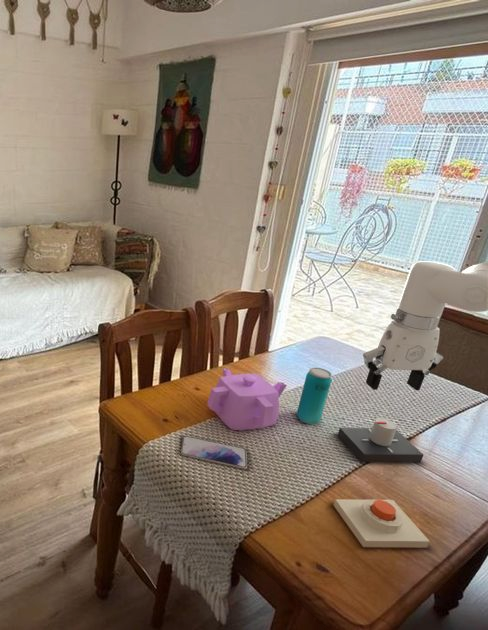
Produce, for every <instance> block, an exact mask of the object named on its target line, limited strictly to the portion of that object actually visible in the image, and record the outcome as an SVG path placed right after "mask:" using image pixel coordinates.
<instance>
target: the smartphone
mask: <svg viewBox="0 0 488 630" xmlns="http://www.w3.org/2000/svg"><path fill="white" fill-rule="evenodd" d="M180 454H181V456H185V457H188V458H193V459H198V460H202V461H207V462H211V463H214V464H215V463H216V464H219V465H220V464H221V465H223V466H228V467H233V468H238V469H243V470H246V469H248V455H247V450H246V449H245V448H243V447H239V446H234V445H229V444H225V443H220V442H215V441H210V440H206V439H200V438H196V437H191V436H187V435H186V436H183V437H182V442H181V449H180Z"/></svg>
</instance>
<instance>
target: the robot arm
mask: <svg viewBox="0 0 488 630" xmlns="http://www.w3.org/2000/svg"><path fill="white" fill-rule="evenodd" d="M446 305H449V306H453V307H455V308H458V309H461V310H465V311H468V312H474V313H481V312H487V311H488V260H487V261H483V262H481V263H477V264H473V265H472V266H469V267H467V268H466V269H464V270H462V271H457V270H456V268H455V267H453V266H452V265H449V264H447V263H443V262H438V261H432V260H421V261H417V262H415V263H413V264H412V266H411V267H410V269H409V272H408V276H407V279H406V281H405V284H404V288H403V290H402V293H401V296H400V300H399V302H398V305H397V308H396V310H395V311H396V312H395V313H391V315H390V319H391V321H390V322H389V324H388V325H387V327H386V329H385V330H384V332H383V334H382V336H381V339H380V341H379V343H378V345H377V347H376V348H374V349H371V350H369V351H365V352H364V353H362V357H363V361H364V364H365V366H366V367H367V369H369V371H368V374H367V376H366V380H365V384H366V385H367V386H368V387H370V388H371V389H372V390H374V391H377V390H378V388H379V386H380V383H381V381H382V378H383V377H382V376H383V375H382V373H383V372H384V371H385V370H387V369H389V370H392V371H393V370H394V371H410V373H409V376H408V379H407V381H406V384H407V385H408V386H409V387H411V388H412V389H414V391H420V390H421V387H422V385H423V382H424V380H425V378H426V376H428V375H430V373H431V371H432V370H434V369H435V368H437V366H438V365H439V363H440V362H441V361H442V360H443V359H444V356H443V355H442V354H440V353H438V352H437V350H438V346H439V342H440V331H441V330H440V327H438V326H439V323H440V320H441V317H442V315H443V312H444V309H445V308H446Z"/></svg>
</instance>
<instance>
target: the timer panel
mask: <svg viewBox="0 0 488 630" xmlns="http://www.w3.org/2000/svg"><path fill="white" fill-rule="evenodd" d="M372 428H373V427H339V428H338V432H337V437H338V438H339V439H340V440H341V442H342V443H344V445H345V446H346V447H347V448H348V449H349V450H350V451H351V452H352V454H353V455H354V456H355V457H356V458H357V459H358V461H360V462H361V463H392V464H394V463H398V464H399V463H400V464H401V463H403V464H405V463H407V464H421V462H422V460H423V457H424V455H425V454H423V452H421V451H420V450H419V449H418V448H417V447H416V446H415V445H414V444H413V443H412V442H410V441H409V440H408V438H406V437H405V436H404V435H402V433H400V432H399V431H398V430H397V429H396V431H395V434H394V437H393V440H392V442H391V445H389V446H382V445H378V444H376V443H374V442H373V441H372V440H371V439H370V434H371V431H372Z"/></svg>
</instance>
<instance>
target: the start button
mask: <svg viewBox="0 0 488 630" xmlns="http://www.w3.org/2000/svg"><path fill="white" fill-rule="evenodd" d="M374 500H375V501H374V503H373V506H372V509H371V510H372V513H373V514H374V515H375V516H377V517H378V518H380V519H383V520H385V521H391V520H393V518H394V516H395V513H396V509H395V508H394V507H393V506H392V505H391V504H390V503H388V502H386V501H383V500H384V499H374Z"/></svg>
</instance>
